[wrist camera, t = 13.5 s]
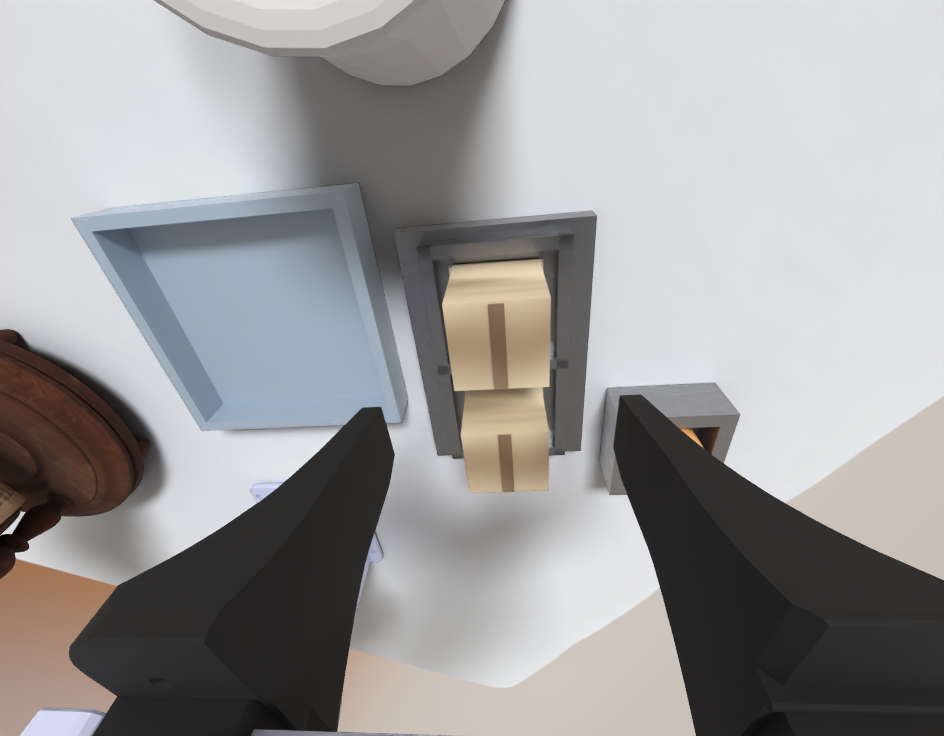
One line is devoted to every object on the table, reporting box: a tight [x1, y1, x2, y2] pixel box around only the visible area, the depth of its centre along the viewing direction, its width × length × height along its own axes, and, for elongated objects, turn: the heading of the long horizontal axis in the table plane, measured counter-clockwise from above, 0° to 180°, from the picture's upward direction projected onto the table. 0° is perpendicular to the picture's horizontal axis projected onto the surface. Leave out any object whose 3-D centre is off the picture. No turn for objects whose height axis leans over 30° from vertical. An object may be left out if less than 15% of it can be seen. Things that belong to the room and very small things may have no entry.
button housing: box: [599, 383, 740, 495], centre depth 23 cm, size 6×6×3 cm
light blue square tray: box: [71, 183, 408, 431], centre depth 21 cm, size 12×12×2 cm
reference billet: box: [461, 387, 549, 493], centre depth 21 cm, size 4×4×5 cm
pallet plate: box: [394, 211, 597, 459], centre depth 21 cm, size 14×9×2 cm, turn 6°
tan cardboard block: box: [442, 259, 551, 391], centre depth 18 cm, size 4×4×5 cm
